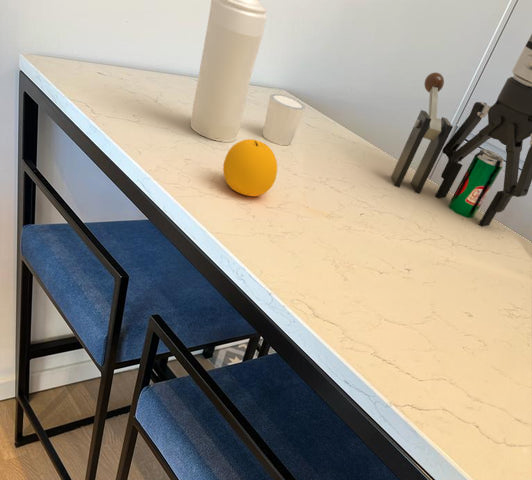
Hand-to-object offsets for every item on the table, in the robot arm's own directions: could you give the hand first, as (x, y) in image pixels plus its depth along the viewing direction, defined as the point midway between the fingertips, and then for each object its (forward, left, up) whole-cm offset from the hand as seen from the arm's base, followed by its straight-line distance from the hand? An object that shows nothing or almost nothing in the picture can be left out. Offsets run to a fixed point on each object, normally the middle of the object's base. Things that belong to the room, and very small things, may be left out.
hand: (461, 211), depth 104 cm
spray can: (+34, +32, -1) cm, 47 cm away
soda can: (0, 0, -1) cm, 1 cm away
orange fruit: (+15, +40, -1) cm, 43 cm away
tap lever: (+14, +1, +12) cm, 19 cm away
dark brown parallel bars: (+10, +5, -1) cm, 11 cm away
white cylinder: (+32, +18, -1) cm, 37 cm away
